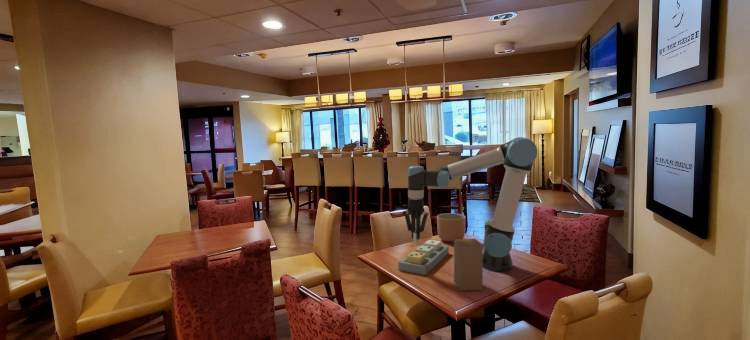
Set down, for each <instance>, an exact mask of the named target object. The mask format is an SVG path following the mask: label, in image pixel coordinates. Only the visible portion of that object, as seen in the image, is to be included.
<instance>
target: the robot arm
mask: <svg viewBox="0 0 750 340" xmlns="http://www.w3.org/2000/svg"><path fill="white" fill-rule="evenodd" d="M537 157H538V147H537V145H536V143H535V142H534V141H533V140H531V139H529V138H527V137H522V136H521V137H515V138H513V139H510V141H507V142H505V143H503V144H500V145H498V147H497V148H494V149H491V150H488V151H486V152H483V153H480V154H477V155H474V156H471V157H467V158H465V159H462V160H458V161H456V162H453V163H450V164H447V165H444V166H441V167H440V166H439V167H437V168H436V169H434V170H425V169H424V168H425V167H424V166H421V165H412V166H408V172H407V173H408V174H407V184H408V185H407V186H408V187H407V197H408V199H407V206H408V207H407V208H406V210H403V211H402V213H403V215H404V218H405V222H406V227H407V230H408V232H411V239H413V241H412V242H413V245H412V246H413V247H417V246H419V239H421V233H423V232H424V231H425V227H426V222H427V218H428V217H429V212H427V211H425V208H424V206H425V203H424V202H425V201H424V196H425V195H424V194H425V189H424V188H425V187H435V188H436V187H437V188H448V187H449V185H450V181H452V180H455V179H457V178H461V177H464V176H467V175H470V174H473V173H476V172H480V171H482V170H485V169H489V168H492V167H495V166H498V165H501V164H503V167H504V169H505V172H504V176H503V180H502V184H501V187H500V192H499V195H498V198H497V203H496V207H495V210H494V215H493V218H492V219H486V220H485V222H484V239H483V246H484V247H483V248H484V249H483V269H486V270H489V271H493V272H508V271H511V270H512V269H513V267H514V265H513V264H514V263H513V259H512V256H511V251H512V249H513V238H514V234H515V231H516V230H515V228H514V226H513V224H514V221H515V216H516V214H517V210H518V206H519V202H520V198H521V196H522V193H523V192H522V191H523V187H524V184H525V181H526V177H527V175H528V174H529V173H530V172H532V169H533V166H534V163H535V160H536V158H537ZM422 216H423V217H422ZM421 219H422V220H421Z"/></svg>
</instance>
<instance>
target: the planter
mask: <svg viewBox="0 0 750 340" xmlns="http://www.w3.org/2000/svg"><path fill="white" fill-rule="evenodd" d="M466 218H467V217H466V215H464V214H461V213H454V212H451V213H448V212H446V213H440V214H437V216H436V225H437V235H438V237H439V239H441V241H443V242H445V243H448V244H449V243H451V244H454V241H455V240H456V239H465V234H466Z"/></svg>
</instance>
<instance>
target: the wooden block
mask: <svg viewBox="0 0 750 340" xmlns="http://www.w3.org/2000/svg"><path fill="white" fill-rule="evenodd" d="M483 246H484V245H482V243H481V242H479V240H478V239H476V238H463V239H456V240H455V241H454V243H453V270H454V271H453V281H454V284H455V285H456V286H457V288H458V290H459V291H460V292H466V291H467V292H470V291H472V292H473V291H481V290H483V272H484V271H483V269H484V267H483V252H484V249H483V248H484V247H483Z"/></svg>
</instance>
